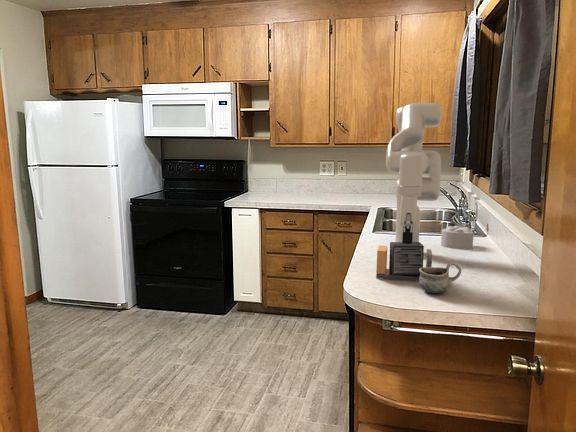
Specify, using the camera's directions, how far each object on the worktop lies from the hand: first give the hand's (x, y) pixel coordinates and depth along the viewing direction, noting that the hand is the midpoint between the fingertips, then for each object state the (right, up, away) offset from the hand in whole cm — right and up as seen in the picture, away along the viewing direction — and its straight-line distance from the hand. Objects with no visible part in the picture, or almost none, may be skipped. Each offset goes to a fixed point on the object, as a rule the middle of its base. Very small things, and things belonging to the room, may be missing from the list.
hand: (407, 240), depth 164 cm
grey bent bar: (0, -13, +2) cm, 13 cm away
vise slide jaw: (-8, -11, +3) cm, 14 cm away
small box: (0, -12, +2) cm, 12 cm away
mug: (+6, -16, -13) cm, 22 cm away
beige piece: (+34, -5, +48) cm, 59 cm away
